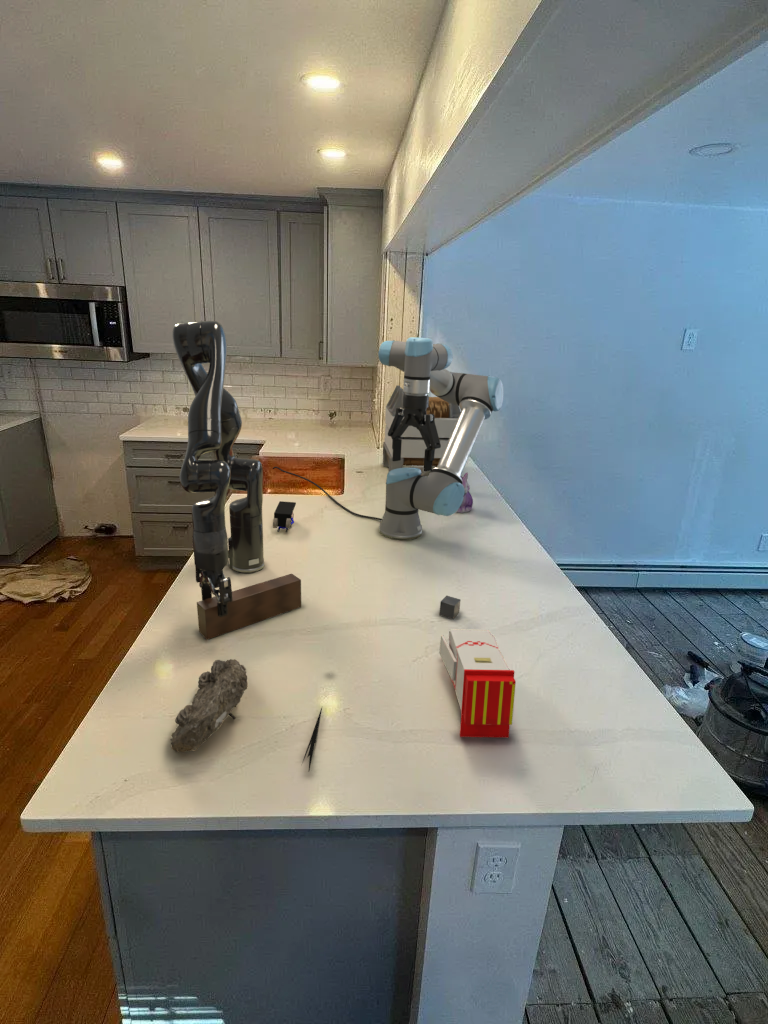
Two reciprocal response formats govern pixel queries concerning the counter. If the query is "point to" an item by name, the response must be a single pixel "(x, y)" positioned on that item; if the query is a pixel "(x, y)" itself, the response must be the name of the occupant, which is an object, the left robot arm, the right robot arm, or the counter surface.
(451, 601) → the slate cube
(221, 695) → the fossil
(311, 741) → the feather
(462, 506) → the figurine
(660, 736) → the counter surface
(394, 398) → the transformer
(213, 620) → the walnut bar
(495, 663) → the toy
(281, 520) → the figurine character
